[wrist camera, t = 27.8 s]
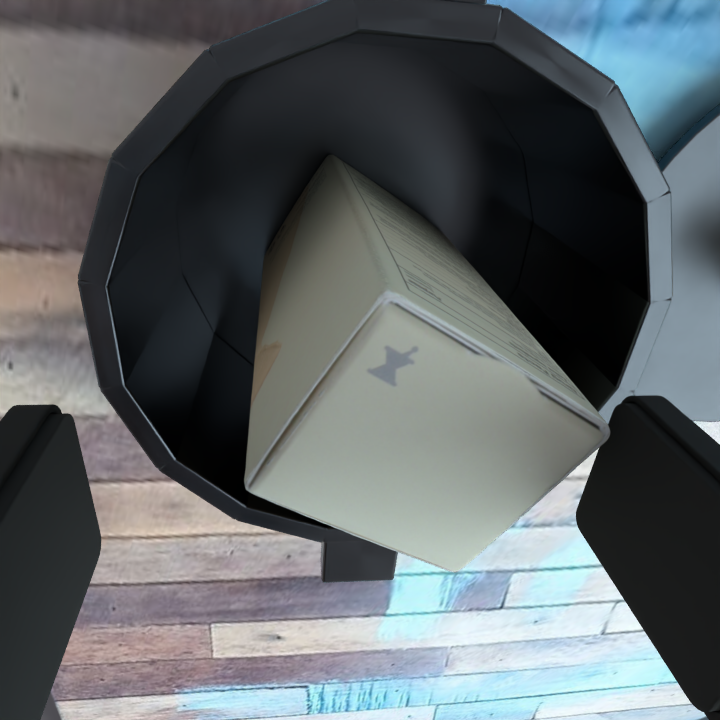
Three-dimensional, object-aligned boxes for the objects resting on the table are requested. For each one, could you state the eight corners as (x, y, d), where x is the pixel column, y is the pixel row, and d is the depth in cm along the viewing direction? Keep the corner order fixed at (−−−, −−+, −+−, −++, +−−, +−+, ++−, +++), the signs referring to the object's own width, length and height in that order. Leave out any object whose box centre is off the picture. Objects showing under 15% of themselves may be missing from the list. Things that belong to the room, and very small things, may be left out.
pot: (187, 450, 22) (143, 611, 16) (123, -131, 13) (-45, -310, 7) (486, 448, 24) (556, 592, 18) (614, -70, 15) (859, -166, 8)
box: (260, 257, 18) (217, 488, 8) (330, 146, 16) (376, 275, 7) (382, 331, 20) (461, 587, 10) (455, 238, 18) (627, 437, 9)
